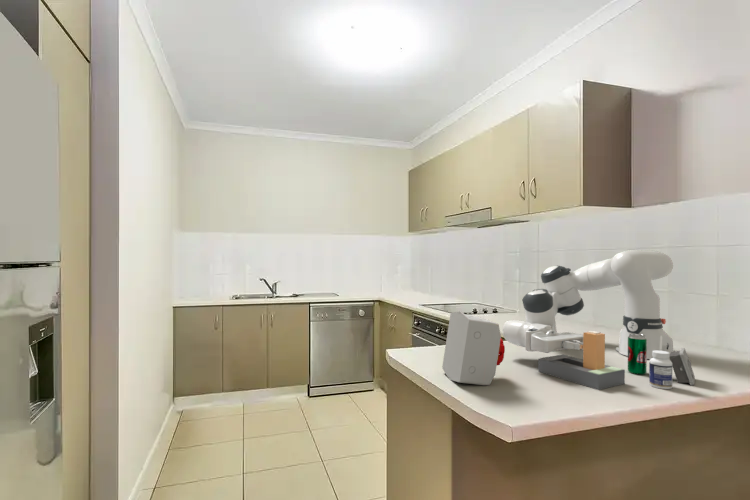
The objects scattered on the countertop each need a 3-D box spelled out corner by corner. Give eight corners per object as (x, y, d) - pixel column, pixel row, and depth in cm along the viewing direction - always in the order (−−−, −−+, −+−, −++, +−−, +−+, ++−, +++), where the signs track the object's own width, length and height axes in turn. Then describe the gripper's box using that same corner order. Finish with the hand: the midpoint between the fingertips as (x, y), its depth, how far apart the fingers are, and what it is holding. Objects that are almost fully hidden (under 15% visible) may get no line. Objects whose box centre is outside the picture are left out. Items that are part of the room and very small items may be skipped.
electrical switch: (694, 386, 118) (690, 353, 119) (671, 384, 121) (668, 352, 122) (695, 379, 125) (691, 347, 126) (674, 377, 129) (670, 347, 129)
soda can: (639, 376, 128) (640, 336, 128) (623, 371, 132) (624, 333, 132) (650, 374, 130) (650, 335, 130) (634, 370, 135) (634, 332, 135)
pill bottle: (650, 382, 121) (650, 348, 122) (673, 386, 118) (673, 351, 118) (648, 386, 117) (648, 351, 117) (671, 390, 114) (671, 355, 114)
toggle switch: (563, 366, 137) (563, 354, 137) (624, 383, 120) (624, 369, 120) (538, 371, 131) (538, 358, 131) (598, 389, 114) (598, 374, 114)
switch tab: (591, 374, 124) (592, 330, 124) (604, 378, 121) (604, 332, 121) (583, 376, 122) (583, 331, 122) (595, 380, 119) (596, 333, 119)
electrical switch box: (508, 393, 117) (519, 322, 118) (458, 387, 115) (469, 314, 115) (486, 377, 131) (495, 314, 132) (441, 372, 129) (451, 308, 130)
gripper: (564, 345, 142) (604, 353, 129) (522, 351, 132) (560, 361, 120) (564, 326, 142) (604, 333, 129) (522, 331, 132) (560, 339, 120)
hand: (582, 346), depth 124 cm, fingers closed
